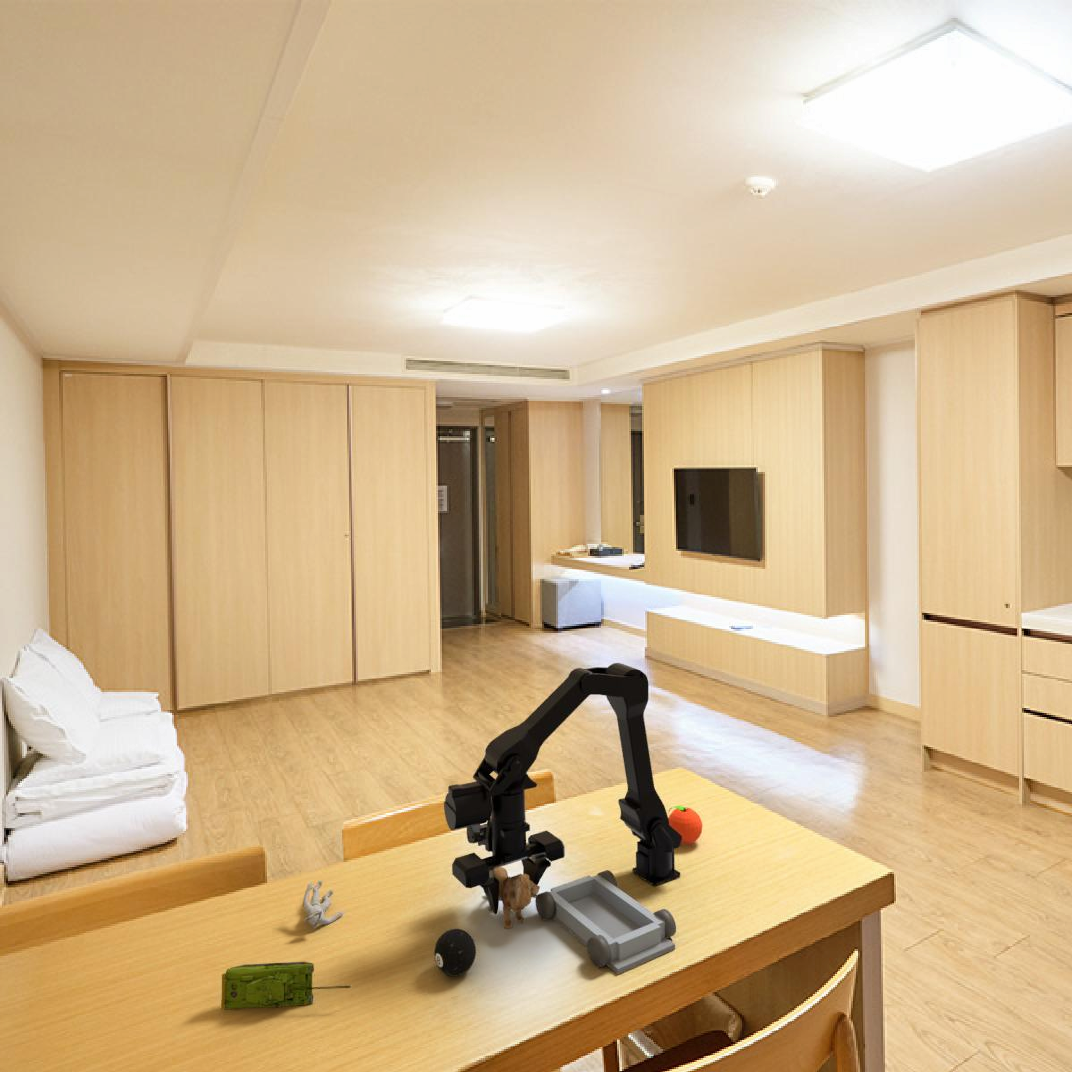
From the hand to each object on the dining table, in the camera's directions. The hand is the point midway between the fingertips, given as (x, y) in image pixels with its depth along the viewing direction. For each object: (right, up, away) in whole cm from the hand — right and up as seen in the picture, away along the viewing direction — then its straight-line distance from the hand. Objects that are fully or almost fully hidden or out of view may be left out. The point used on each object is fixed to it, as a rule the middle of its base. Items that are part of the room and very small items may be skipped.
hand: (511, 907), depth 125 cm
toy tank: (-30, -4, -22) cm, 37 cm away
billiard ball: (-8, -3, -14) cm, 16 cm away
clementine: (+34, 0, +25) cm, 42 cm away
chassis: (+15, -1, -4) cm, 16 cm away
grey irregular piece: (-33, -3, +2) cm, 33 cm away
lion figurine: (0, -2, +1) cm, 2 cm away
